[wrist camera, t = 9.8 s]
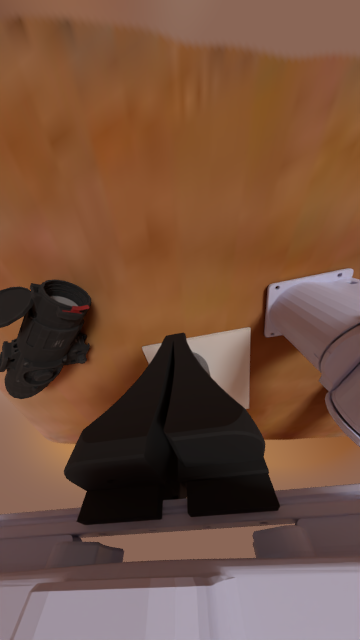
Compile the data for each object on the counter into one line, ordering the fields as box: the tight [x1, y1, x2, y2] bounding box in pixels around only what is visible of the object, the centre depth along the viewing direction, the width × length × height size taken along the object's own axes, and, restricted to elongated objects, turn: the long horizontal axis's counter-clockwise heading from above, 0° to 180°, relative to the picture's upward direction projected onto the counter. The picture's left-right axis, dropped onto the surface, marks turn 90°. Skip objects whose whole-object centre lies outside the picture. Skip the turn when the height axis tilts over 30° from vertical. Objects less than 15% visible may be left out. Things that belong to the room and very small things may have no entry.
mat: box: [142, 327, 251, 409], centre depth 28 cm, size 16×20×1 cm
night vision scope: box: [0, 280, 91, 399], centre depth 18 cm, size 8×18×10 cm
